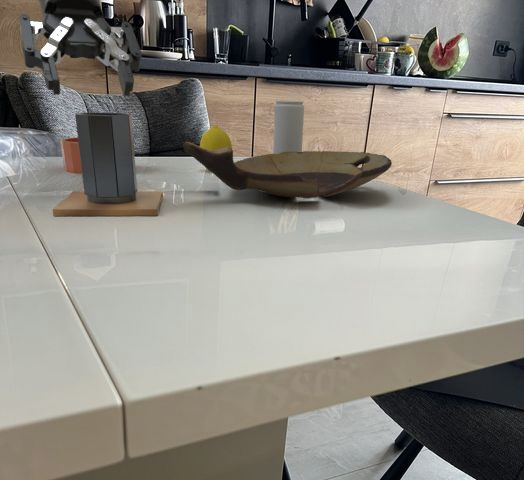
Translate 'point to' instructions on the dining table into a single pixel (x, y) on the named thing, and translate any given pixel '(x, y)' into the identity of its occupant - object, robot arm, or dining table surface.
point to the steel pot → (107, 157)
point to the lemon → (215, 139)
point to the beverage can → (288, 126)
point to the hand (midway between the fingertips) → (93, 90)
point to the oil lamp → (293, 170)
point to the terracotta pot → (71, 155)
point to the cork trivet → (110, 206)
